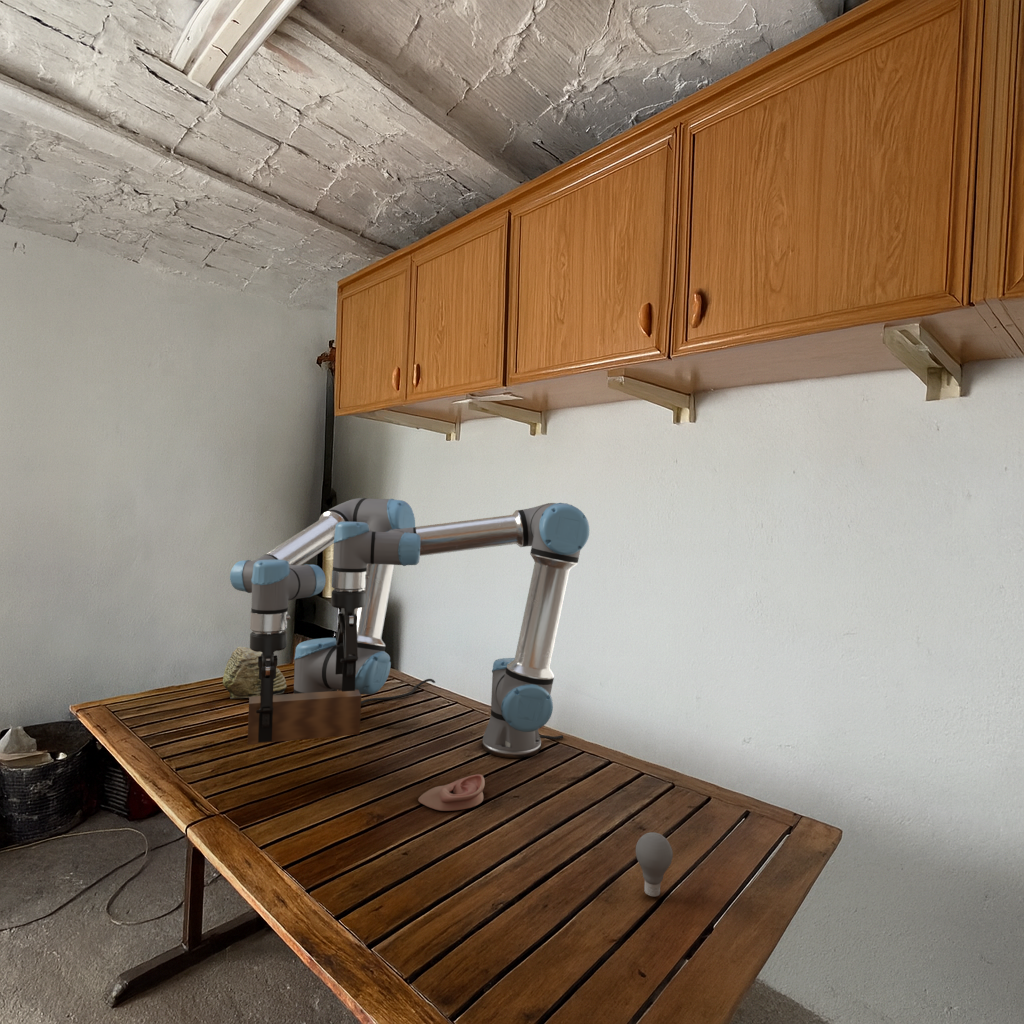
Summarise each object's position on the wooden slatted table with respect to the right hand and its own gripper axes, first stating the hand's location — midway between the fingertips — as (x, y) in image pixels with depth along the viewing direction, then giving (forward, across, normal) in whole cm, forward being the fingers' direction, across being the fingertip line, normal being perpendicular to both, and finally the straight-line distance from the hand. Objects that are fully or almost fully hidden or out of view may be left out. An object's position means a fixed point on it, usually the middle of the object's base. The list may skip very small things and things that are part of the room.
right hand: (344, 682), depth 145 cm
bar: (+12, 0, +8) cm, 14 cm away
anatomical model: (+21, -19, -21) cm, 35 cm away
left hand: (+11, 0, +16) cm, 20 cm away
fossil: (+21, +64, +19) cm, 70 cm away
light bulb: (+21, -60, -44) cm, 77 cm away
